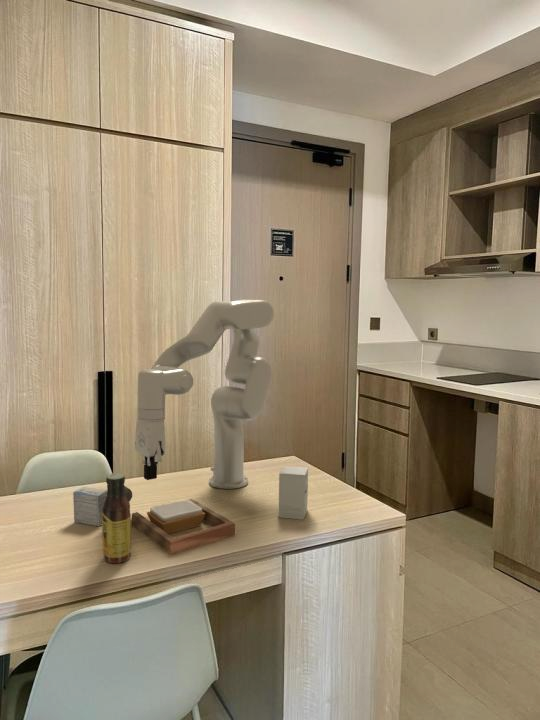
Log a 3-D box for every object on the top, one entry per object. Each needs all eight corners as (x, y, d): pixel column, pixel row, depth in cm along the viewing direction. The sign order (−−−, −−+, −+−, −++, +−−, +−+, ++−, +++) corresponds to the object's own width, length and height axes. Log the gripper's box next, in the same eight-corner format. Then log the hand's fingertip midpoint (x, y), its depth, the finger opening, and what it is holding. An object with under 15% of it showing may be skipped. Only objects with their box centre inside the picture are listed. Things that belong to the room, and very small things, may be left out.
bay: (110, 524, 145) (109, 485, 144) (186, 505, 160) (186, 469, 158) (153, 560, 126) (152, 515, 125) (235, 534, 140) (235, 494, 139)
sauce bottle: (106, 552, 130) (104, 470, 128) (133, 551, 130) (132, 470, 128) (100, 566, 123) (98, 479, 121) (128, 565, 124) (127, 479, 122)
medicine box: (108, 521, 148) (108, 489, 147) (98, 527, 144) (97, 495, 143) (84, 516, 151) (83, 486, 150) (73, 523, 146) (72, 491, 145)
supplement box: (304, 520, 150) (305, 475, 149) (277, 517, 152) (278, 473, 150) (308, 510, 158) (308, 467, 156) (282, 507, 159) (283, 465, 158)
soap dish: (162, 538, 138) (162, 519, 138) (146, 525, 146) (145, 507, 145) (205, 526, 146) (205, 508, 145) (188, 514, 153) (188, 497, 153)
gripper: (127, 410, 156) (126, 474, 158) (151, 420, 145) (150, 488, 146) (151, 408, 161) (150, 470, 163) (176, 417, 150) (175, 483, 151)
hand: (150, 478), depth 155 cm, fingers closed
